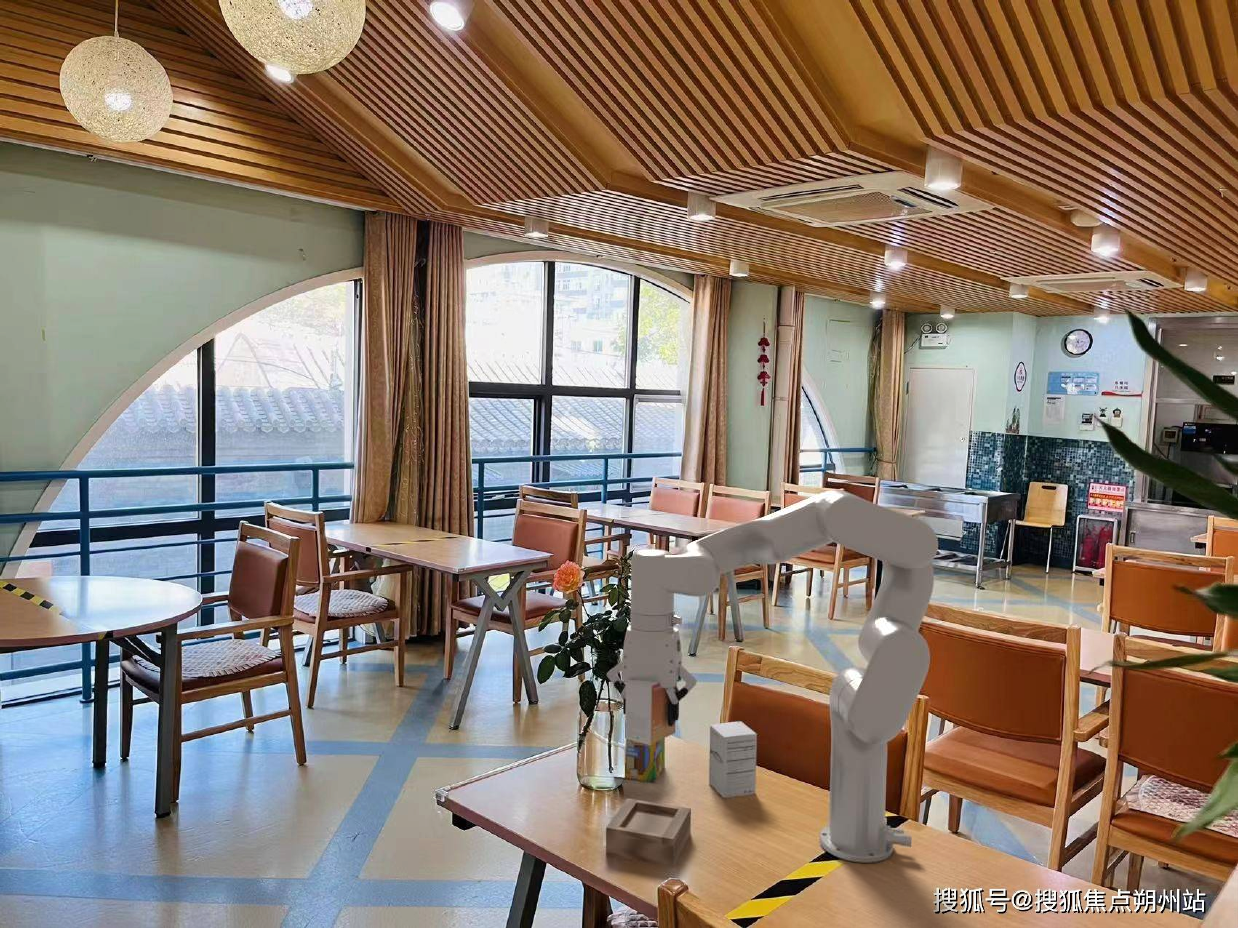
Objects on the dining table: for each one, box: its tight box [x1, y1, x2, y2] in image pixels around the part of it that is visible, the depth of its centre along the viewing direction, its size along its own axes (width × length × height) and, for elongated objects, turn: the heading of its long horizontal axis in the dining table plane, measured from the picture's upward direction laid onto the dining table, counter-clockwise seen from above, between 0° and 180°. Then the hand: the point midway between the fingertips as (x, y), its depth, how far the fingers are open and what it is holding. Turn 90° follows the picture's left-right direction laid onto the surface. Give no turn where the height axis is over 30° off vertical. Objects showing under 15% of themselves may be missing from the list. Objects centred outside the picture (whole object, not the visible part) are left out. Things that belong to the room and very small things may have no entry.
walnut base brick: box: [605, 797, 692, 868], centre depth 159 cm, size 12×12×5 cm
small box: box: [625, 679, 676, 745], centre depth 157 cm, size 8×6×10 cm
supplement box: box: [708, 720, 758, 799], centre depth 181 cm, size 7×7×13 cm
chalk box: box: [624, 738, 666, 783], centre depth 189 cm, size 9×9×15 cm
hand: (650, 720), depth 157 cm, fingers closed on small box, 7 cm apart
